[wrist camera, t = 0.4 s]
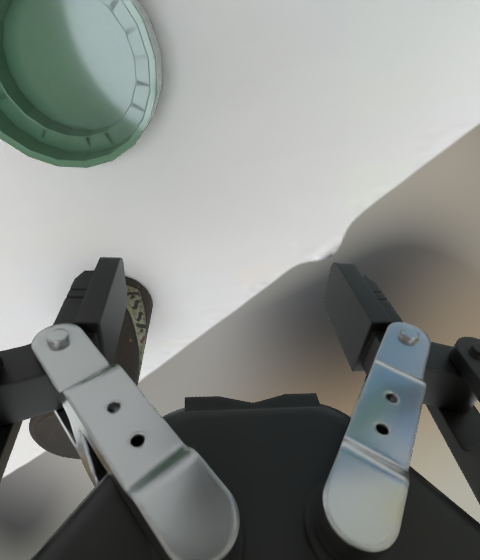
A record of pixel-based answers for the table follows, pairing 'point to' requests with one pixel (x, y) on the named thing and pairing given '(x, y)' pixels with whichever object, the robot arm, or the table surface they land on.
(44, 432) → the container
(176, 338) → the table surface
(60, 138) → the bowl
